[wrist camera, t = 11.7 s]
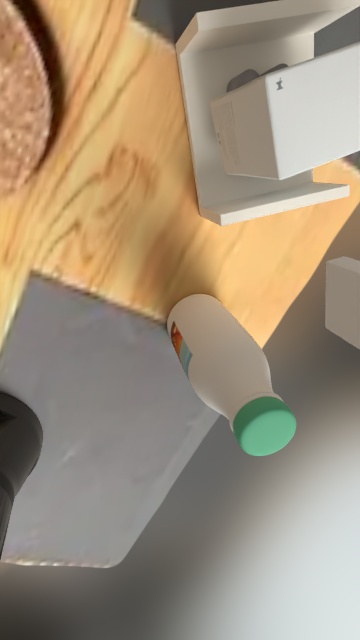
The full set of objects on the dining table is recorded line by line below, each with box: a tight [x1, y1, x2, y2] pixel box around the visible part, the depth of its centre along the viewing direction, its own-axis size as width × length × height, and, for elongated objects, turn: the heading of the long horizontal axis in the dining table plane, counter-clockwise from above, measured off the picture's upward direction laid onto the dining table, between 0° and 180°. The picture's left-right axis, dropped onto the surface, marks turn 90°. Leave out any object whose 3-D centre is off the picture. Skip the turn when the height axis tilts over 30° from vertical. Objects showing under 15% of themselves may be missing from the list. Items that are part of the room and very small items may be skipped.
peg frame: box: [175, 0, 360, 226], centre depth 31 cm, size 13×15×7 cm
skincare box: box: [210, 42, 360, 180], centre depth 26 cm, size 10×6×10 cm, turn 107°
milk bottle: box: [167, 294, 296, 456], centre depth 33 cm, size 8×8×20 cm
